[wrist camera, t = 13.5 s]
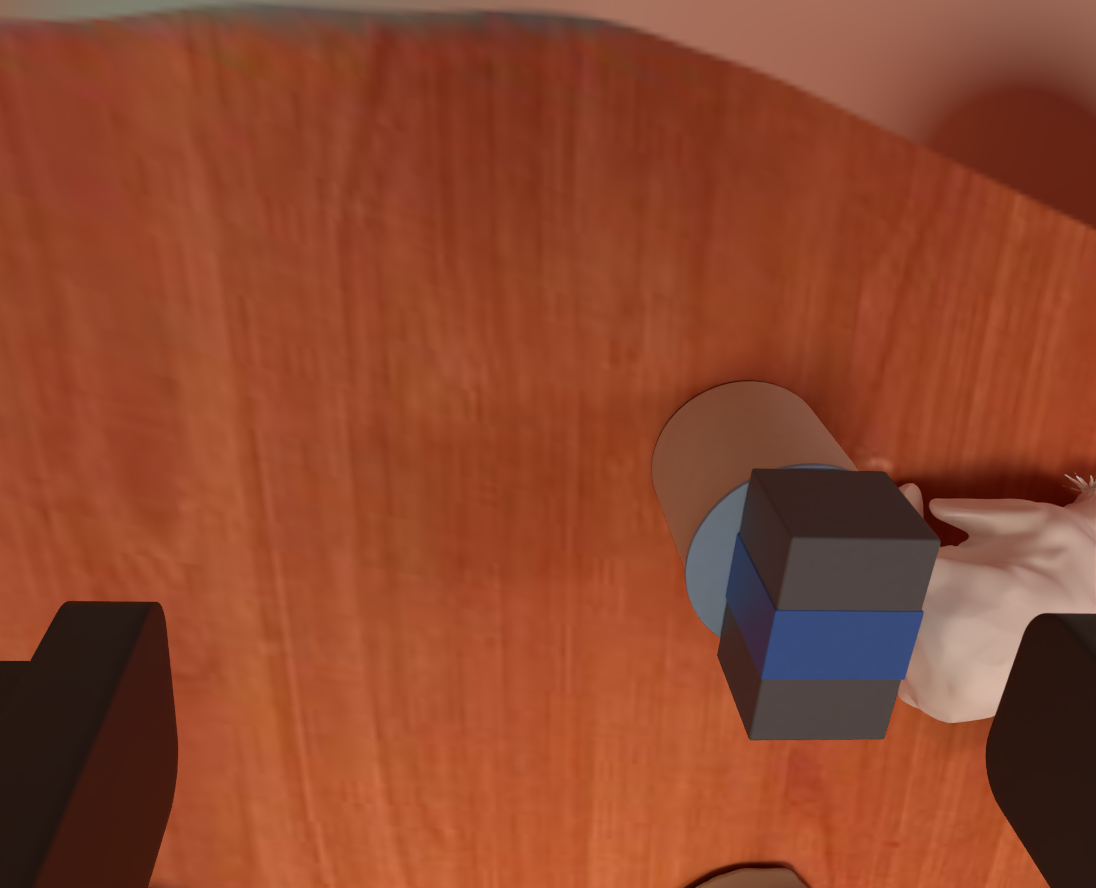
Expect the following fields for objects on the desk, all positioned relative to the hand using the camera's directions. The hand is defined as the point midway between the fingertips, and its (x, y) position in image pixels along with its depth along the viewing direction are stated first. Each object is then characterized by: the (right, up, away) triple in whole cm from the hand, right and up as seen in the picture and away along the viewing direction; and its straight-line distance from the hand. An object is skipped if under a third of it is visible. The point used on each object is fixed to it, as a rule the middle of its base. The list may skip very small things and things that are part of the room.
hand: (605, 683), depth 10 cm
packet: (+7, -2, +23) cm, 24 cm away
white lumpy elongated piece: (+17, -1, +32) cm, 36 cm away
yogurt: (+7, +2, +29) cm, 30 cm away
